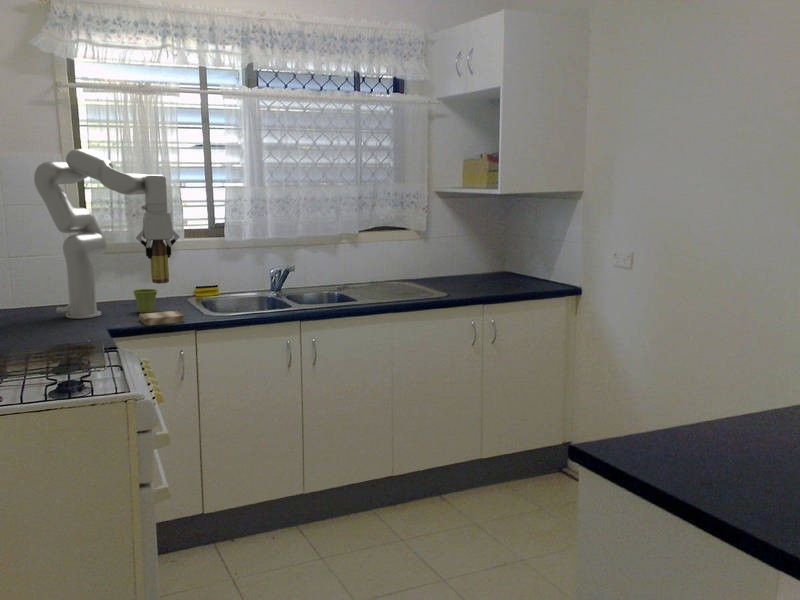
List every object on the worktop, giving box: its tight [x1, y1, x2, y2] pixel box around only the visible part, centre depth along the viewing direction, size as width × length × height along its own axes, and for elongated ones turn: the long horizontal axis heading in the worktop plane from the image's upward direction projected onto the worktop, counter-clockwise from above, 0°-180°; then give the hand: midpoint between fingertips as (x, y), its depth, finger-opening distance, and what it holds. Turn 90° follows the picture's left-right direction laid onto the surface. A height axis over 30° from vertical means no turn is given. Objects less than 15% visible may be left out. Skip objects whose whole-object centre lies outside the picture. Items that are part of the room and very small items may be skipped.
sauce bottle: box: [149, 240, 170, 285], centre depth 275 cm, size 6×6×20 cm
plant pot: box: [132, 288, 159, 314], centre depth 298 cm, size 9×9×9 cm
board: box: [138, 310, 185, 327], centre depth 279 cm, size 14×11×2 cm
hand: (158, 257), depth 276 cm, fingers closed on sauce bottle, 6 cm apart
